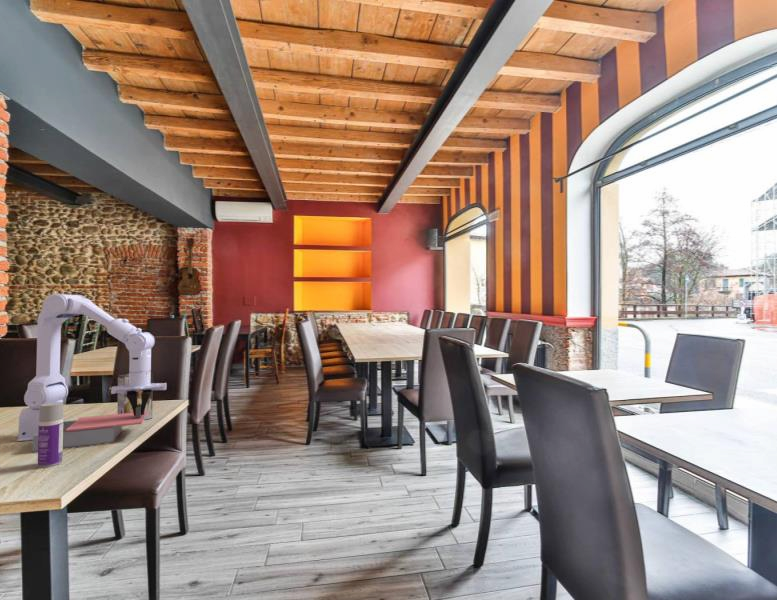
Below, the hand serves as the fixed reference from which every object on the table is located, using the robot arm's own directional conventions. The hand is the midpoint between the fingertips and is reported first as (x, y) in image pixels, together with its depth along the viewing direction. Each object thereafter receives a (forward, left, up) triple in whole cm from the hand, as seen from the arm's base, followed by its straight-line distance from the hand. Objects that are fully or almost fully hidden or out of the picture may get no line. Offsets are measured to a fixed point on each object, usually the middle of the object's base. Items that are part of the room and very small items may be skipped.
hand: (139, 414), depth 122 cm
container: (-17, -19, -6) cm, 26 cm away
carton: (-15, 0, -6) cm, 16 cm away
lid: (-7, 0, -1) cm, 8 cm away
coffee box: (-4, +19, -6) cm, 20 cm away
